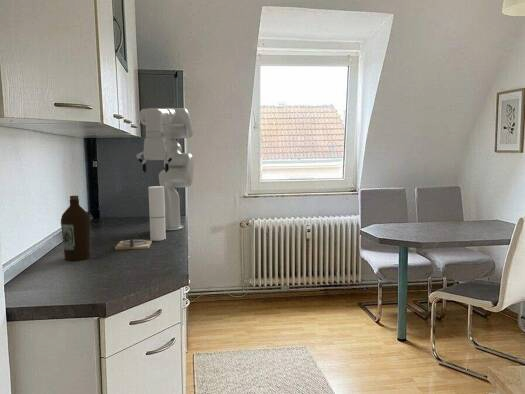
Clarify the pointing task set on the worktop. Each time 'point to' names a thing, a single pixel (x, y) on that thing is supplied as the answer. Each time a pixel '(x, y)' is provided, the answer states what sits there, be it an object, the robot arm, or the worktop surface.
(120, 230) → the worktop surface
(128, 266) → the worktop surface
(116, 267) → the worktop surface
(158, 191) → the cylindrical container
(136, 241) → the locking base
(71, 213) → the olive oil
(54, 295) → the worktop surface
